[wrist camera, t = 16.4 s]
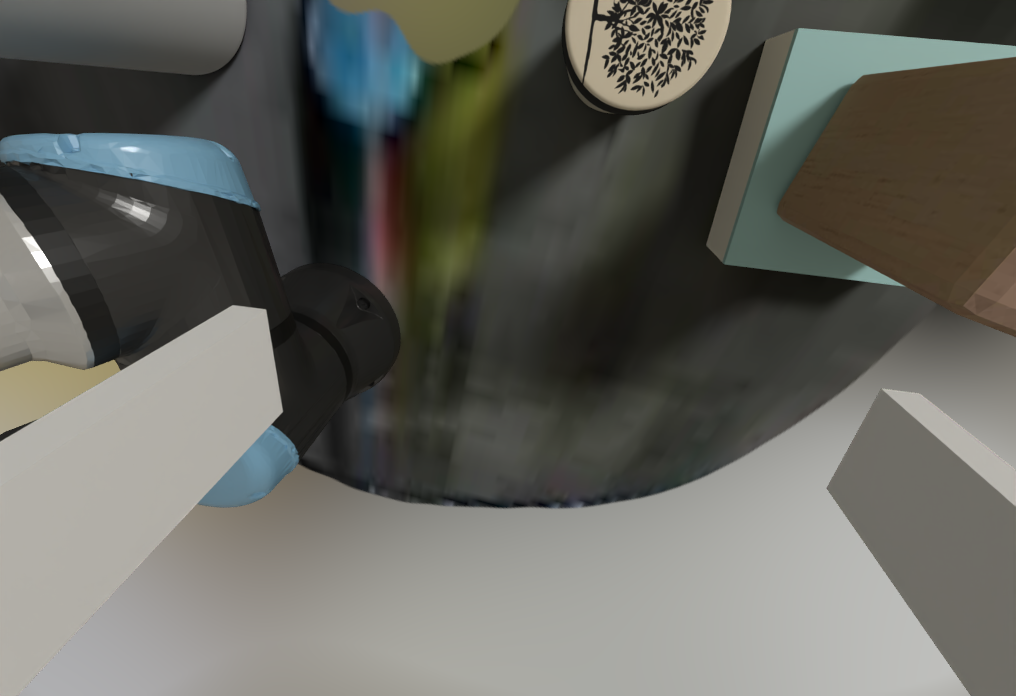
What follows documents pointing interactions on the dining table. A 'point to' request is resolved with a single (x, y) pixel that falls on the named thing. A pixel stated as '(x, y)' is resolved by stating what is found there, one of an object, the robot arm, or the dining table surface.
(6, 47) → the cylinder vase
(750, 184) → the base brick
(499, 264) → the dining table surface
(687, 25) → the travel mug
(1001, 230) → the wooden block
